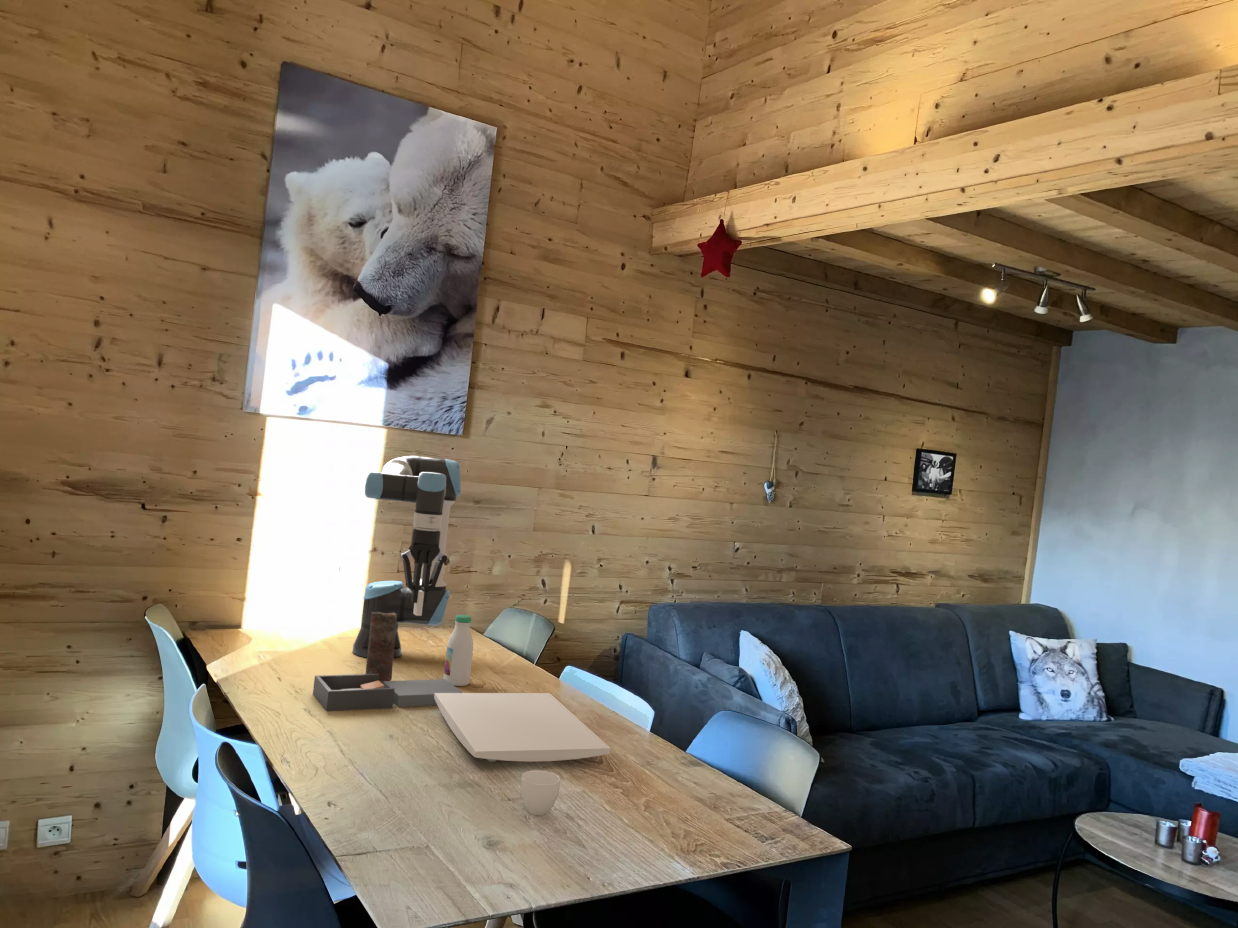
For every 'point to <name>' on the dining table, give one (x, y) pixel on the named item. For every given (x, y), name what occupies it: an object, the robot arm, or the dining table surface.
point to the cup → (539, 791)
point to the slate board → (419, 691)
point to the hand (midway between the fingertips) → (417, 614)
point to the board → (518, 727)
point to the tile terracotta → (372, 685)
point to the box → (351, 692)
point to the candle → (381, 645)
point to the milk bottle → (459, 653)
